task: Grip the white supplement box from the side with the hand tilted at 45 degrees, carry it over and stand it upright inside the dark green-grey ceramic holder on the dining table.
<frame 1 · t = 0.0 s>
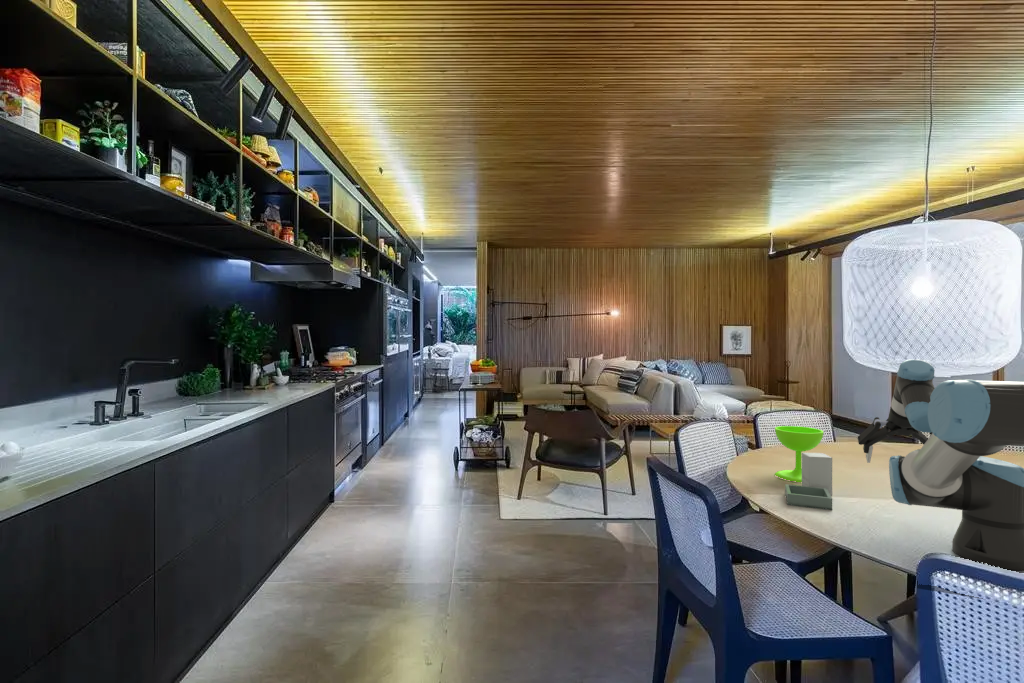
hand: (894, 461, 157), 15 cm above the table, tool tilted 35°, fingers open, 13 cm apart
wineglass: (798, 478, 197), on the table
supplement box: (816, 492, 179), on the table
holder: (807, 502, 168), on the table
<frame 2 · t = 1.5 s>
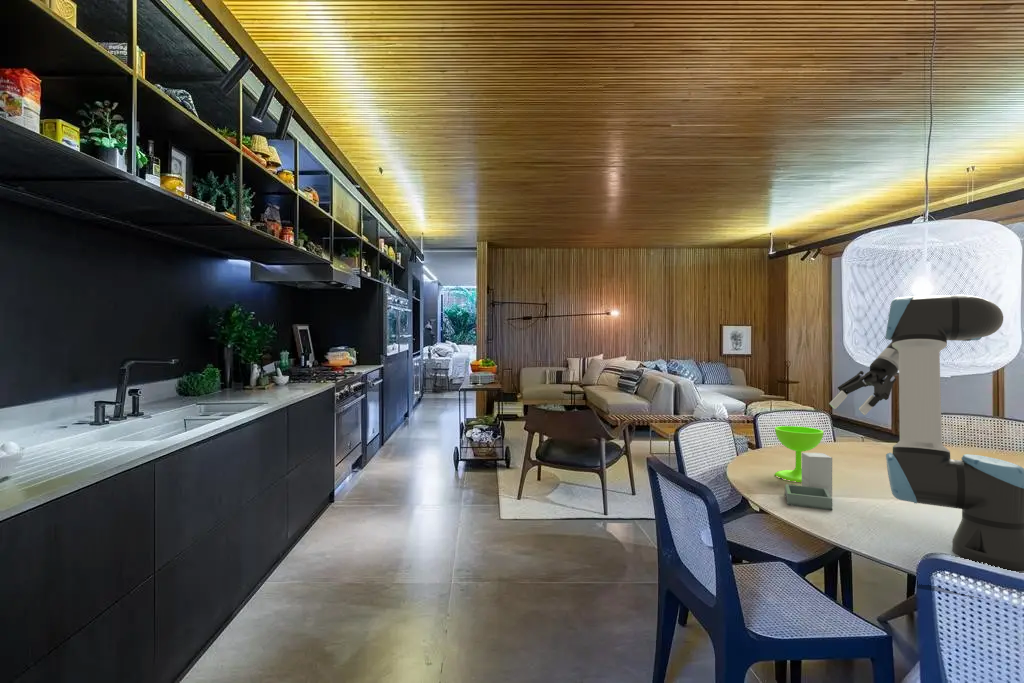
hand: (846, 409, 180), 28 cm above the table, tool tilted 45°, fingers open, 13 cm apart
nothing on the table moved.
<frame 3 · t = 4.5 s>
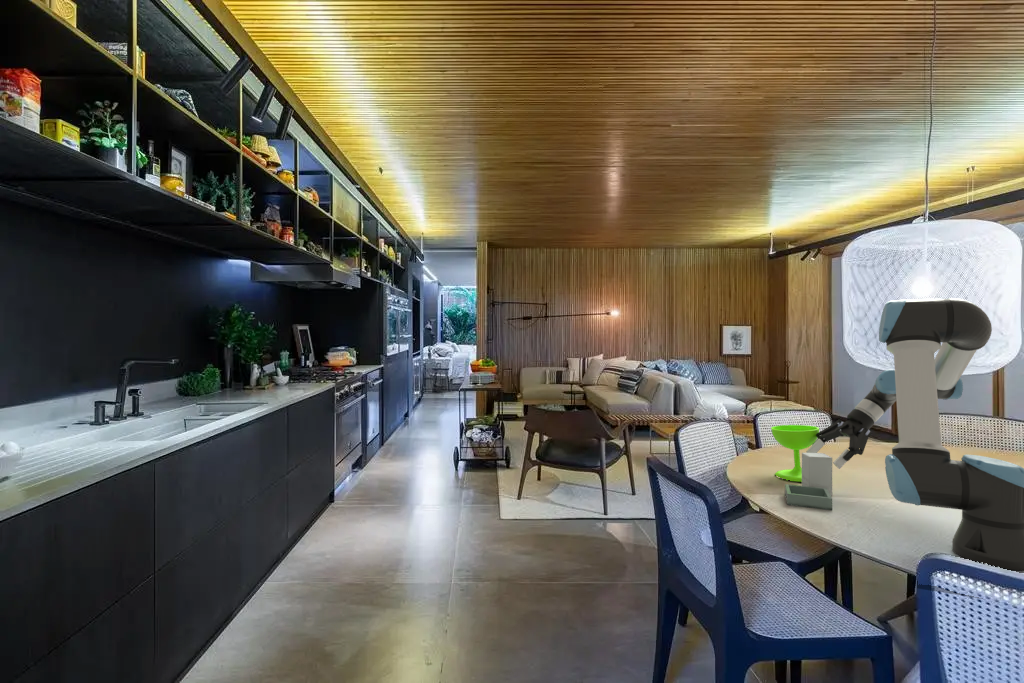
hand: (822, 460, 181), 10 cm above the table, tool tilted 45°, fingers open, 13 cm apart
wineglass: (798, 477, 197), on the table, touching gripper, hand
everything else where it was.
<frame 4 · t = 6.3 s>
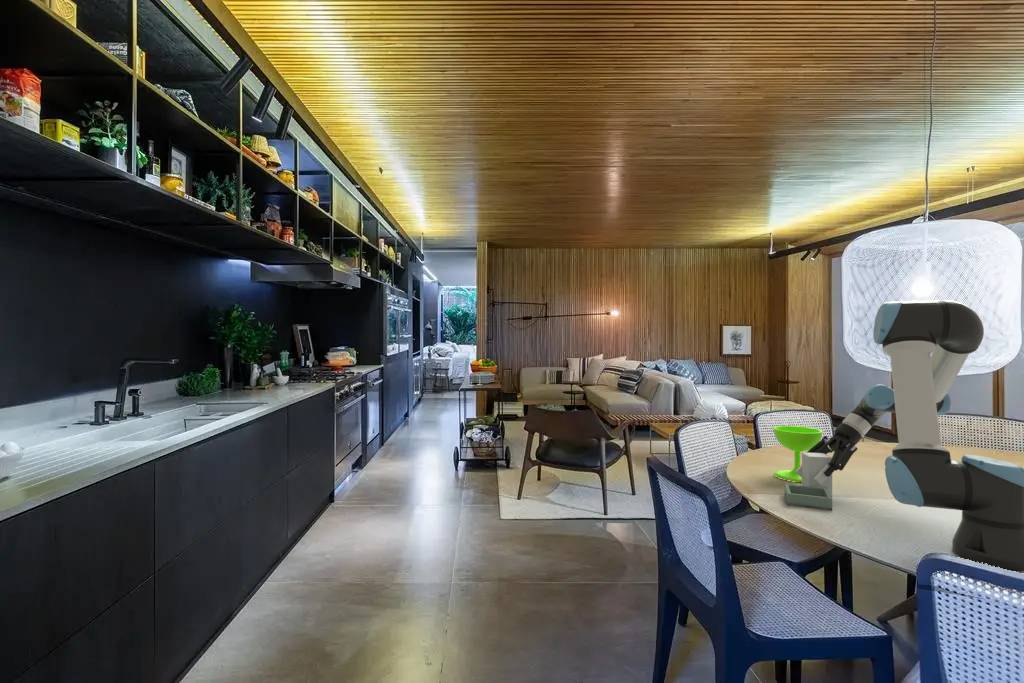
hand: (807, 477, 178), 5 cm above the table, tool tilted 45°, fingers closed on supplement box, 9 cm apart
wineglass: (797, 478, 197), on the table
supplement box: (816, 492, 179), on the table, touching gripper
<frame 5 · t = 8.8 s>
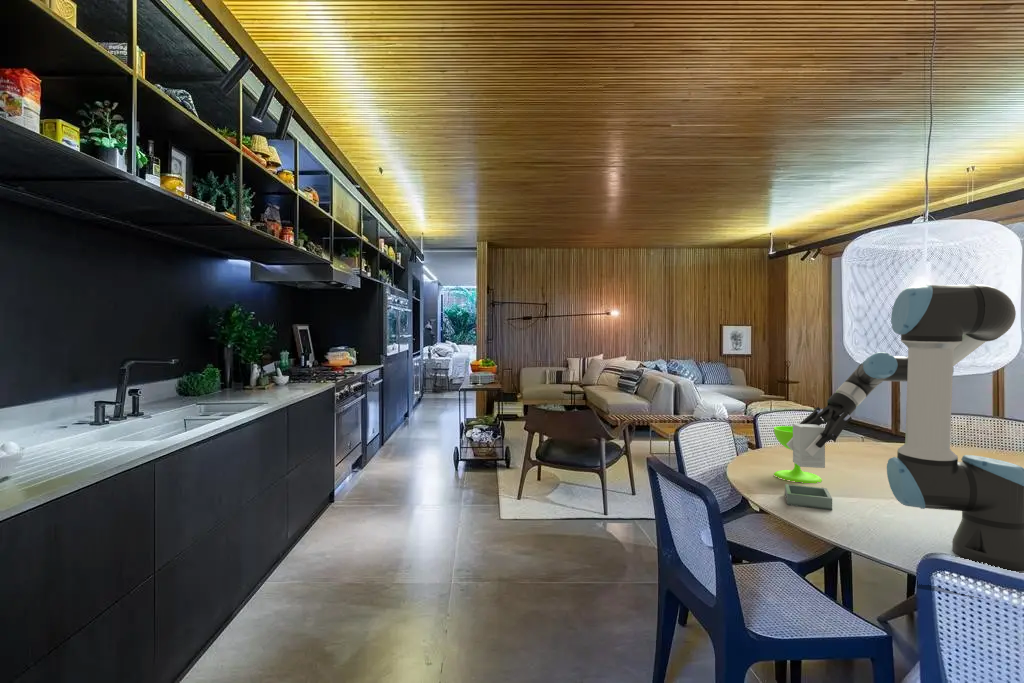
hand: (798, 450, 168), 16 cm above the table, tool tilted 45°, fingers closed on supplement box, 9 cm apart
supplement box: (808, 465, 168), point 11 cm above the table, touching gripper
everything else where it was.
when the fingers open (7 cm above the table, at t = 11.2 s): supplement box drops 1 cm, resting on holder.
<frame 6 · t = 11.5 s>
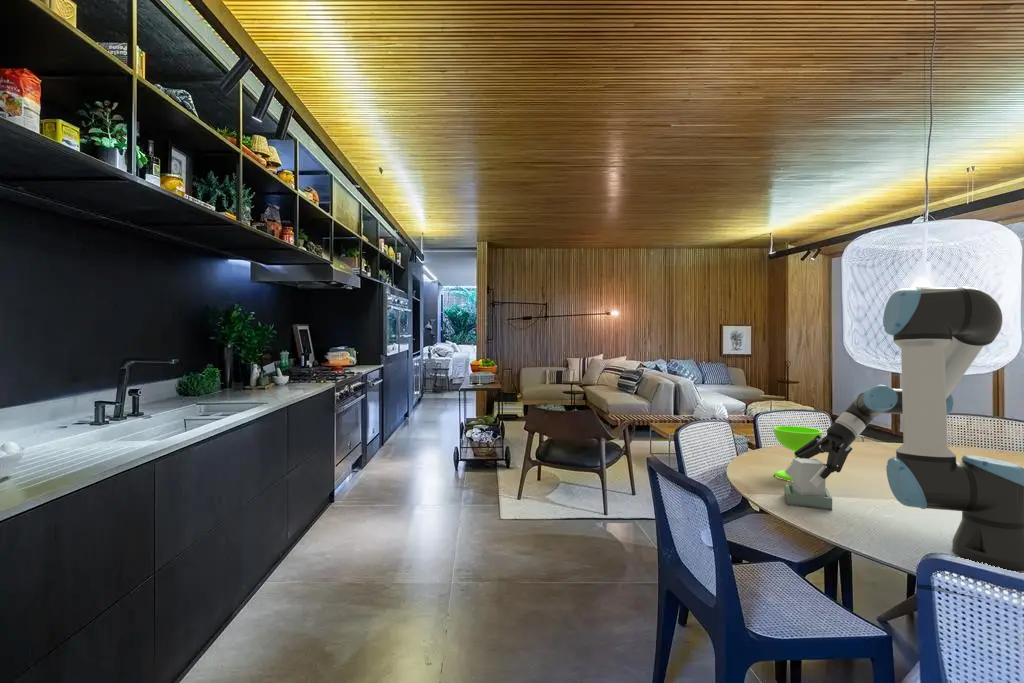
hand: (799, 479, 167), 7 cm above the table, tool tilted 45°, fingers open, 11 cm apart
supplement box: (808, 501, 167), resting on holder
everything else where it was.
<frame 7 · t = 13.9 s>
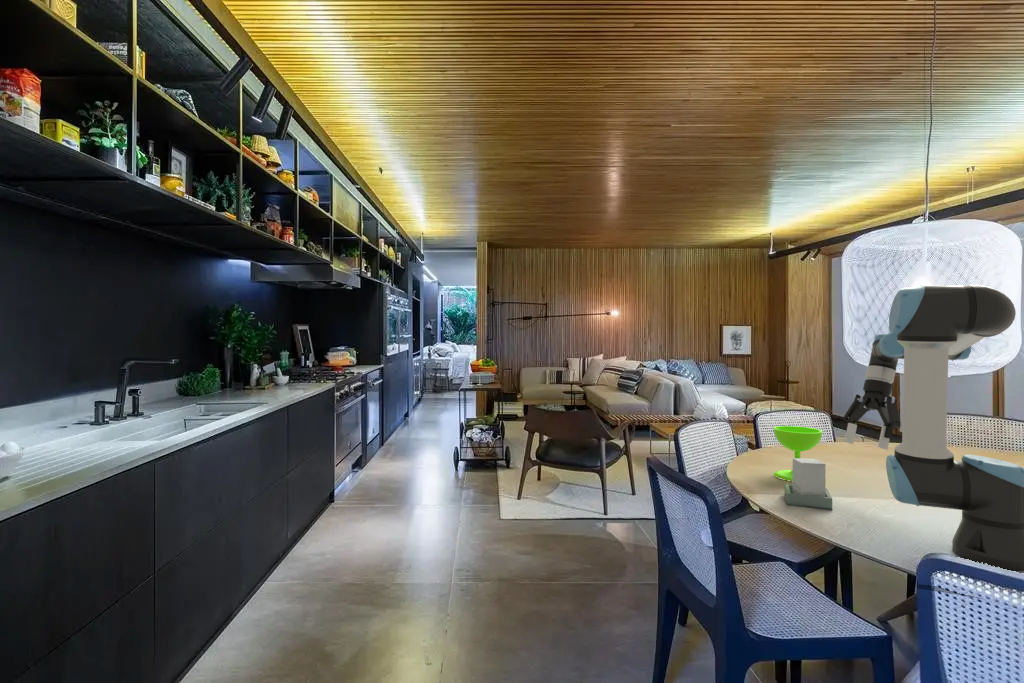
hand: (864, 445, 169), 18 cm above the table, tool tilted 20°, fingers open, 13 cm apart
nothing on the table moved.
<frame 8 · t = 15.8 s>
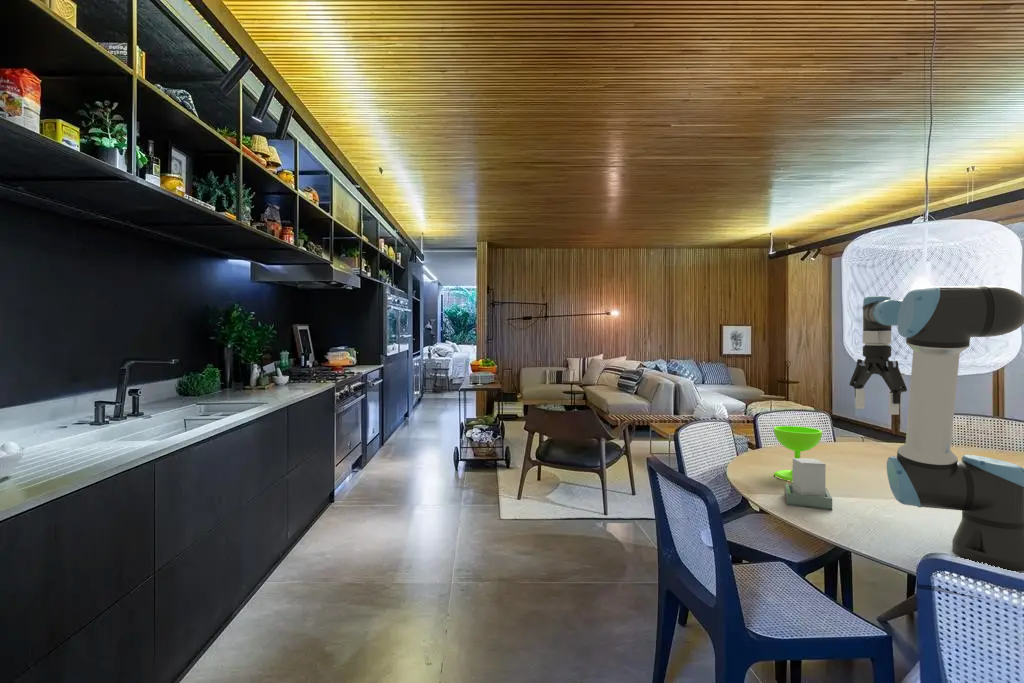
hand: (876, 411, 168), 29 cm above the table, tool pointing down, fingers open, 13 cm apart
nothing on the table moved.
at the end: supplement box 0.4 cm off-centre on the holder, point 0.4 cm above the holder's base; supplement box tilted 0°; the gripper is holding nothing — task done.
